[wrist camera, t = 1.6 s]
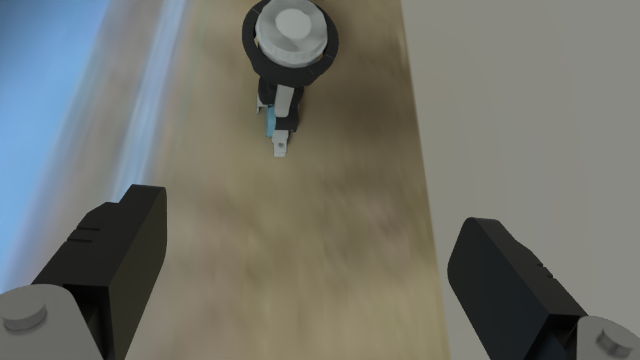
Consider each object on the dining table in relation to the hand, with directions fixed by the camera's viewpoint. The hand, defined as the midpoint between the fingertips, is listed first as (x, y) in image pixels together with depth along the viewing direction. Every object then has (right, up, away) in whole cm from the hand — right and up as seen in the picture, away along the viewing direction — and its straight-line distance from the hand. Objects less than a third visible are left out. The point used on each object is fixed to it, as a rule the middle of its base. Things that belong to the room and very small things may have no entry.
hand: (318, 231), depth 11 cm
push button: (-3, +6, +20) cm, 21 cm away
